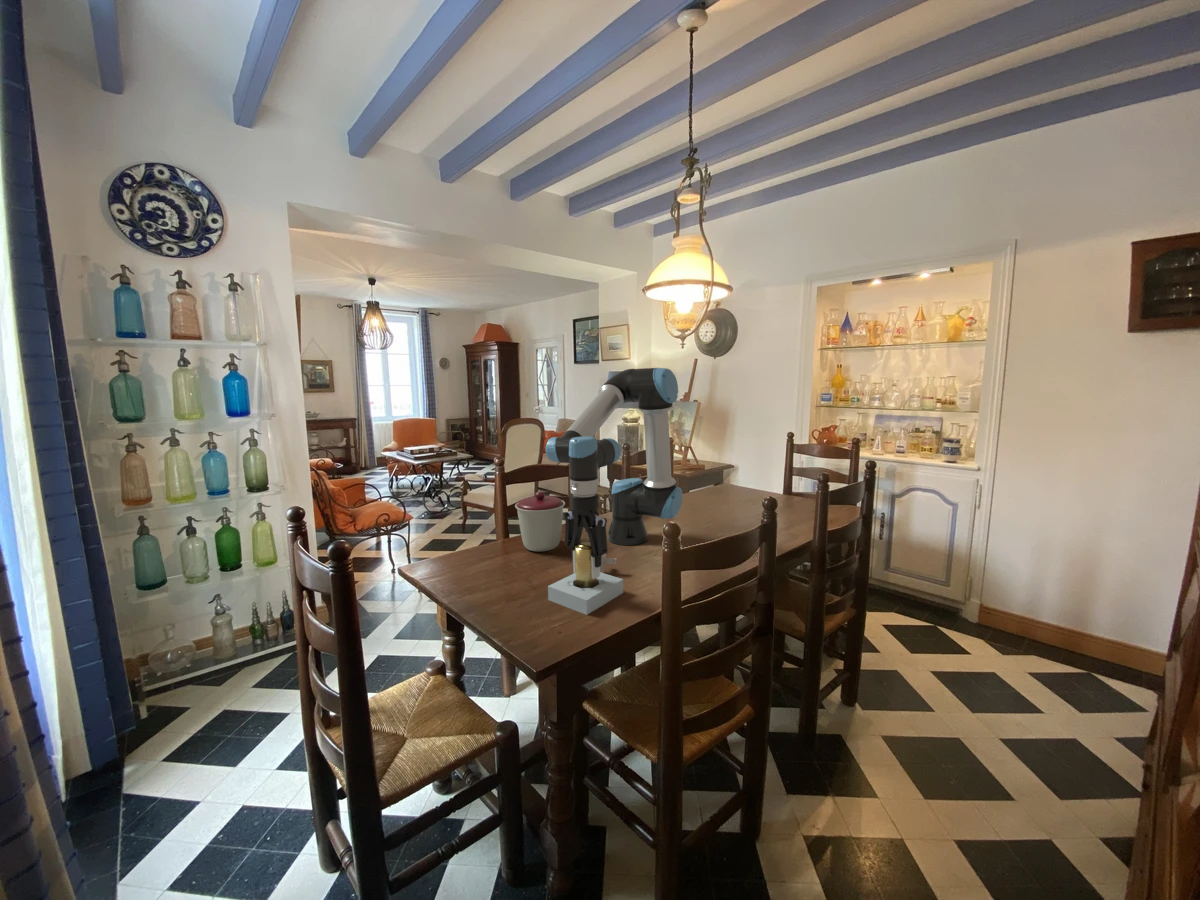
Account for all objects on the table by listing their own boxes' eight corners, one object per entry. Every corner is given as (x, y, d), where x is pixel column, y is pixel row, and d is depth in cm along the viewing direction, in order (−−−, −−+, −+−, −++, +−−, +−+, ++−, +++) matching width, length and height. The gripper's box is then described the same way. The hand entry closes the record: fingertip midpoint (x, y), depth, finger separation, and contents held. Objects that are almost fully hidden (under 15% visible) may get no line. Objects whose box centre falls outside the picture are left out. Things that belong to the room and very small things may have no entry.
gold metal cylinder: (585, 584, 138) (584, 539, 136) (601, 589, 134) (600, 543, 132) (571, 591, 133) (570, 545, 131) (588, 597, 129) (586, 550, 127)
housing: (585, 583, 144) (585, 567, 143) (623, 595, 136) (623, 579, 135) (548, 603, 132) (547, 586, 131) (586, 618, 123) (586, 600, 122)
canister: (532, 560, 163) (529, 500, 160) (508, 545, 178) (505, 490, 174) (575, 548, 174) (574, 492, 171) (550, 535, 188) (548, 483, 185)
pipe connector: (613, 583, 144) (613, 551, 142) (581, 581, 146) (580, 550, 144) (619, 570, 153) (618, 540, 152) (588, 568, 155) (588, 539, 154)
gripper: (549, 491, 132) (552, 570, 136) (603, 502, 120) (604, 588, 124) (567, 486, 138) (570, 562, 142) (620, 495, 126) (621, 578, 130)
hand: (586, 574), depth 133 cm, fingers closed on gold metal cylinder, 6 cm apart
